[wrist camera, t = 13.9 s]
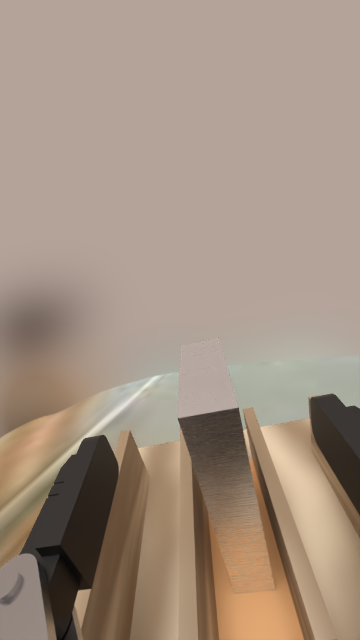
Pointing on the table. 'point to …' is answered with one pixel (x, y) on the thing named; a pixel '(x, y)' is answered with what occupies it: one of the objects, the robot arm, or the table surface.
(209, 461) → the panel
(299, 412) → the table surface
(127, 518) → the media rack
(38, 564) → the robot arm
